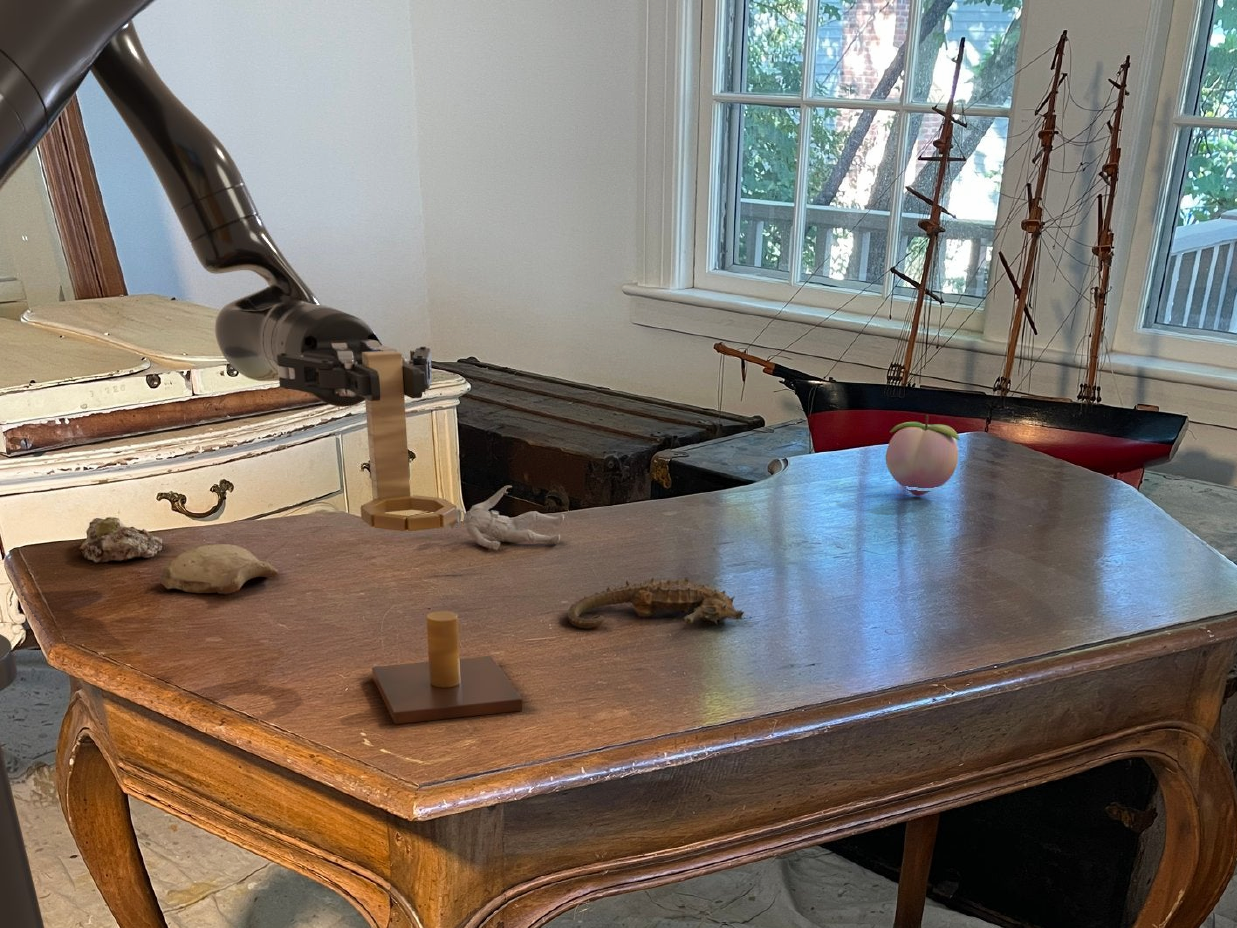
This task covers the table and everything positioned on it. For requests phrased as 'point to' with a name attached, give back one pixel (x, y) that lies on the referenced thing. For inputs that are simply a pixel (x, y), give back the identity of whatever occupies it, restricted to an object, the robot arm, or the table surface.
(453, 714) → the peg stand
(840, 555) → the table surface
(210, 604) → the table surface
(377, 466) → the wooden ring with handle
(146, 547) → the mineral rock
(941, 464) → the decorative fruit
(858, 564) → the table surface
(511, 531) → the soldier figure
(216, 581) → the pottery shard
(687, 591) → the seahorse
